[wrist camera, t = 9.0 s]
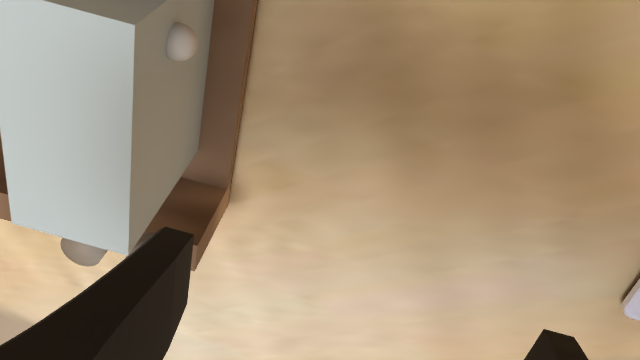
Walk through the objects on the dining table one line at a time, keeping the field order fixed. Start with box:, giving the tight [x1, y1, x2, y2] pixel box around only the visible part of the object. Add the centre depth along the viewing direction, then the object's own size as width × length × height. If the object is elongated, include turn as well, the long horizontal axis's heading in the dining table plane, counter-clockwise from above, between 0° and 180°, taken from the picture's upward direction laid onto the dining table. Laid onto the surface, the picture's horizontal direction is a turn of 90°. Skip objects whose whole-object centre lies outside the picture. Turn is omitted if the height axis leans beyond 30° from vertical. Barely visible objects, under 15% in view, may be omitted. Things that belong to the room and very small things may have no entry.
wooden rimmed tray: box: [0, 0, 258, 271], centre depth 18 cm, size 12×12×5 cm
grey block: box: [0, 0, 214, 256], centre depth 17 cm, size 4×7×6 cm, turn 168°
